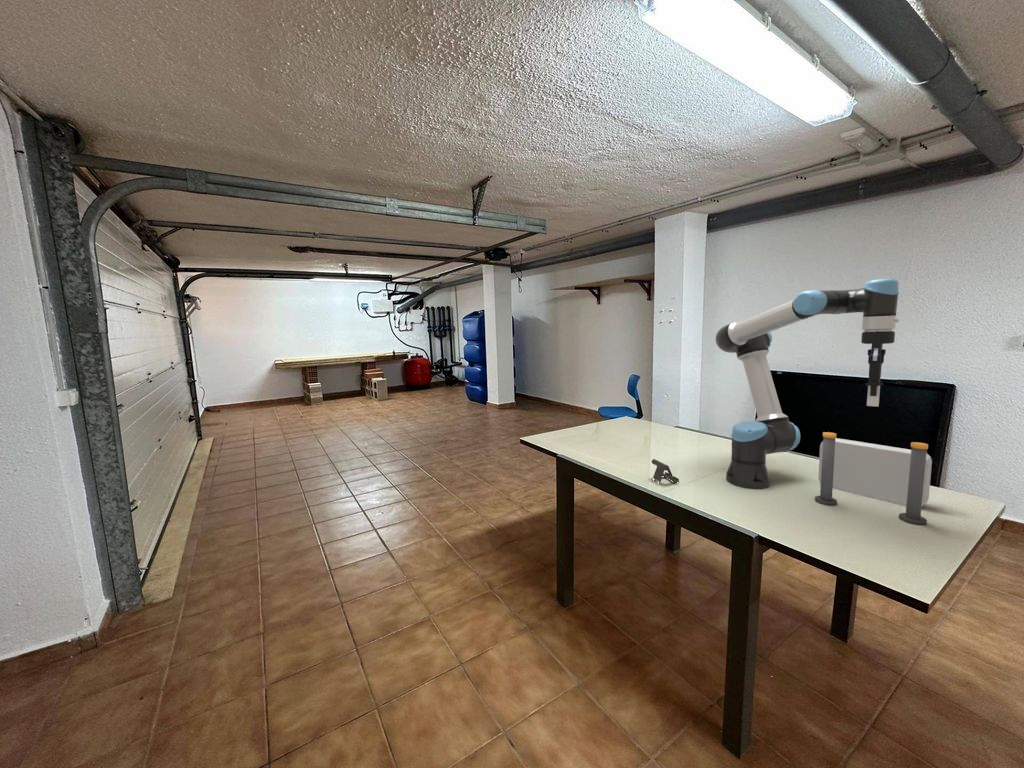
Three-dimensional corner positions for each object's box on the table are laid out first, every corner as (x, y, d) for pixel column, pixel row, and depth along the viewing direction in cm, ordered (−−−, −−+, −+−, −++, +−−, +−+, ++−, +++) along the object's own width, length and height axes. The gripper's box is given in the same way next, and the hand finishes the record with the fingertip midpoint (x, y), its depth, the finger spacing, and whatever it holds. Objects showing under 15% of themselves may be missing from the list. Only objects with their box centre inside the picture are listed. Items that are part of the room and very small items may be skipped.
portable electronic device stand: (679, 484, 156) (679, 463, 156) (661, 486, 155) (662, 466, 154) (665, 476, 165) (665, 457, 164) (649, 479, 163) (649, 459, 162)
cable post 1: (813, 502, 135) (816, 434, 132) (816, 496, 140) (819, 430, 137) (835, 507, 131) (839, 436, 128) (838, 501, 135) (842, 433, 132)
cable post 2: (898, 520, 120) (905, 444, 117) (899, 514, 125) (905, 440, 122) (926, 527, 116) (934, 447, 113) (926, 519, 120) (933, 443, 117)
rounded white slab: (929, 504, 131) (934, 451, 129) (923, 510, 127) (928, 456, 124) (825, 480, 155) (828, 435, 152) (817, 484, 150) (820, 438, 148)
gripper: (894, 330, 114) (888, 410, 117) (896, 329, 123) (890, 403, 126) (860, 331, 119) (854, 407, 122) (863, 330, 128) (858, 401, 131)
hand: (872, 405), depth 124 cm, fingers closed
